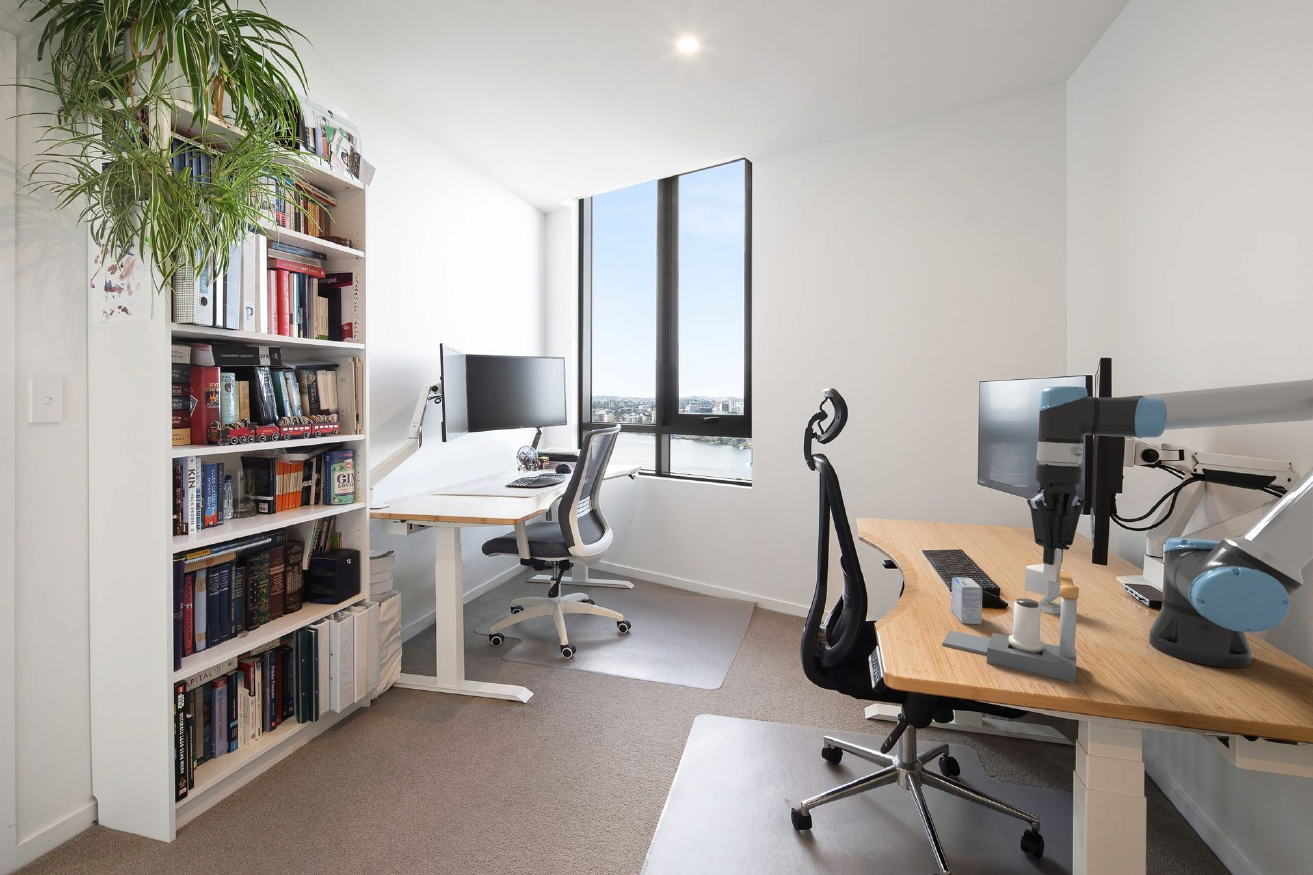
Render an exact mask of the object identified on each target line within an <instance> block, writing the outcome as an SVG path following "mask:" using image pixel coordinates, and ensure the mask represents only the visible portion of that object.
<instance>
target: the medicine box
mask: <svg viewBox="0 0 1313 875" xmlns="http://www.w3.org/2000/svg"><path fill="white" fill-rule="evenodd" d="M950 606H951V608H950V609H951V611H950V612H951V613H952V614H954V616H955V617H956V618H957V620H959V621H960V623H961V624H964V625H965V624H966V625H978V626H979V625H982V624H983V623H982V622H983V621H982V620H983V617H982V615H983V588H982V587H981V586H980V584H978V583H977V582H976V581H975V580H973V579H972V578H970V577H959V576H958V577H957V576H956V577H952V579H951V605H950Z"/></svg>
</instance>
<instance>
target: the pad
mask: <svg viewBox="0 0 1313 875" xmlns="http://www.w3.org/2000/svg"><path fill="white" fill-rule="evenodd" d="M990 639H991V638H989V637H984V636H979V635H975V634H968V633H965V632H959V631H954V630H949V631H948V633H947V634H946V636H945V637H944V639H943V641H942V646H945V647H949V648H953V649H959V650H962V651H967V652H972V653H976V654H981V655H984V656H987V647H988V645H989V642H990Z"/></svg>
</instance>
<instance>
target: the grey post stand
mask: <svg viewBox="0 0 1313 875" xmlns="http://www.w3.org/2000/svg"><path fill="white" fill-rule="evenodd" d="M1060 604H1061V613H1060V617H1059V618H1060V619H1059V620H1060V621H1059V622H1060V623H1059V638H1058V639H1059V641H1058V642H1059V644H1058V645H1055V644H1054V645H1053V644H1048V643H1044V642H1043V643H1044V650H1043V651H1039V655H1038V654H1033V653H1028V652H1024V651H1019V650H1014V649H1012V647H1013V646H1011V645H1010V644H1009V636H1010V635H1005V634H1000V633H996V632H992V634H991V637H990V638H989V639H990V642H989V645H988V647H987V655H986V664H991V665H995V666H1000V667H1002V668H1008V669H1012V670H1016V671H1019V672H1024V673H1030V674H1034V675H1038V676H1043V677H1046V678H1051V679H1055V680H1059V681H1063V682H1069V683H1072V684H1076V682H1077V649H1076V630H1077V628H1076V627H1077V611H1078V610H1077V608H1078V606H1077V605H1078V599H1069V598H1065V597H1062V596H1061V598H1060Z"/></svg>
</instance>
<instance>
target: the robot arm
mask: <svg viewBox="0 0 1313 875" xmlns="http://www.w3.org/2000/svg"><path fill="white" fill-rule="evenodd" d="M1039 406H1040V407H1039V410H1038V411H1039V415H1038V416H1039V417H1038V436H1037V437H1038V438H1037V448H1036V461H1038V462H1039V463H1038V464H1036V466H1035V467H1036V468H1035V481H1036V482H1038V484H1039V486H1038V489H1037V495H1036V496H1034V497H1033V498H1032V497H1028V498H1027V500H1026V502H1027V505H1028V507H1029V508H1030V514H1031V522H1032V530H1033V537H1034V542H1035V544H1036V545H1038V546H1039V547H1042V548H1043V554H1042V562H1043V563H1042V564H1044V571H1043V578H1044V579H1047V580H1050V581H1053V582H1060V573H1061V569H1062V564H1063V557H1064V556H1063V555H1064V551H1068V550H1069V549H1070V546H1072V545H1073V543H1074V539H1075V536H1076V532H1077V527H1078V524H1079V519H1080V516H1081V512H1082V510H1083V508H1084V506H1085V504H1086V499H1085V498H1080V497H1079V496H1078V494H1077V493H1078V492H1077V489H1076V486H1079V485H1081V483H1082V474H1083V473H1082V472H1083V468H1082V467H1081V466H1079V464H1082V463H1083V451H1084V450H1083V448H1084V442H1085V441H1084V439H1085V436H1101V437H1102V436H1105V437H1120V438H1121V437H1124V438H1126V437H1127V438H1137V439H1143V438H1159V437H1161V436H1162V435H1163V434H1164V432H1165V431H1168V430H1184V429H1198V428H1212V427H1213V428H1214V427H1215V428H1216V427H1228V426H1231V427H1232V426H1243V425H1244V426H1245V425H1257V424H1261V425H1262V424H1273V423H1274V424H1275V423H1288V422H1304V421H1306V422H1307V421H1313V378H1310V379H1303V380H1302V379H1301V380H1290V381H1280V382H1279V381H1278V382H1270V383H1257V384H1248V385H1247V384H1246V385H1238V386H1237V385H1236V386H1228V387H1227V386H1226V387H1225V386H1224V387H1215V388H1206V389H1204V388H1203V389H1194V390H1193V389H1192V390H1183V391H1173V392H1161V393H1151V394H1140V395H1132V396H1131V395H1130V396H1128V395H1127V396H1119V397H1117V396H1116V397H1115V396H1113V397H1096V396H1089V394H1088V389H1087V388H1086V387H1085V386H1071V385H1070V386H1062V385H1061V386H1047V387H1045V388H1044V389H1043V390H1042V391H1041V397H1040V404H1039ZM1163 554H1164V559H1163V560H1164V561H1163V577H1162V578H1163V580H1162V582H1163V583H1162V602H1161V609H1160V611H1159V612H1158V614H1157V616H1156V618H1155V619H1154V622H1153V624H1152V626H1151V627H1150V630H1149V634H1148V635H1149V638H1148V641H1149V644H1150V645H1151V646H1152V647H1154V648H1155V649H1156V650H1158V651H1161V652H1162V653H1164V654H1167V655H1170V656H1173V657H1175V658H1178V659H1180V660H1185V661H1188V662H1191V663H1195V664H1196V663H1197V664H1200V665H1205V666H1211V667H1217V668H1218V667H1219V668H1226V669H1227V668H1229V669H1230V668H1231V669H1239V668H1240V669H1242V668H1247V667H1249V666H1251V665H1252V659H1253V658H1252V655H1253V652H1252V649H1251V647H1250V644H1249V641H1248V638H1247V635H1246V633H1256V632H1264V631H1266V630H1269V629H1272V628H1275V627H1276V626H1278V625H1280V623H1282V622H1283V621H1284V619H1286V617H1287V616H1288V614H1289V612H1290V607H1291V604H1290V602H1291V600H1290V596H1292V595H1293V594H1294V593H1295V592H1296V591H1297V590H1298V589H1299V588H1300V587H1301V586H1302V585H1303V584H1304V583H1305V582H1304V578H1303V575H1302V569H1303V568H1304V567H1305V566H1306V565H1308V563H1309V562H1311V561H1312V560H1313V466H1312V467H1311V468H1310V469H1309V470H1308V471H1307V472H1306V473H1305V474H1304V475H1303V476H1302V477H1301V478H1300V479H1299V480H1298V481H1297V482H1296V483H1295V484H1294V485H1292V487H1291V488H1290V489H1289V490H1287V491H1286V493H1284V495H1282V497H1280V499H1278V500H1277V501H1276V502H1275V503H1274V504H1273V505H1272V506H1271V508H1269V509H1268V510H1267V511H1266V512H1265V513H1264V514H1263V515H1262V516H1261V517H1260V518H1258V520H1257V521H1256V522H1254V524H1252V526H1251V527H1249V529H1248V530H1246V532H1245V533H1244V534H1242V535H1241V536H1238V537H1237V536H1236V537H1224V538H1223V539H1222V540H1221V541H1220V540H1212V539H1201V538H1193V537H1192V538H1189V537H1188V538H1187V537H1170V538H1168V539H1167V540H1166V541H1165V547H1164V549H1163Z"/></svg>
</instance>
